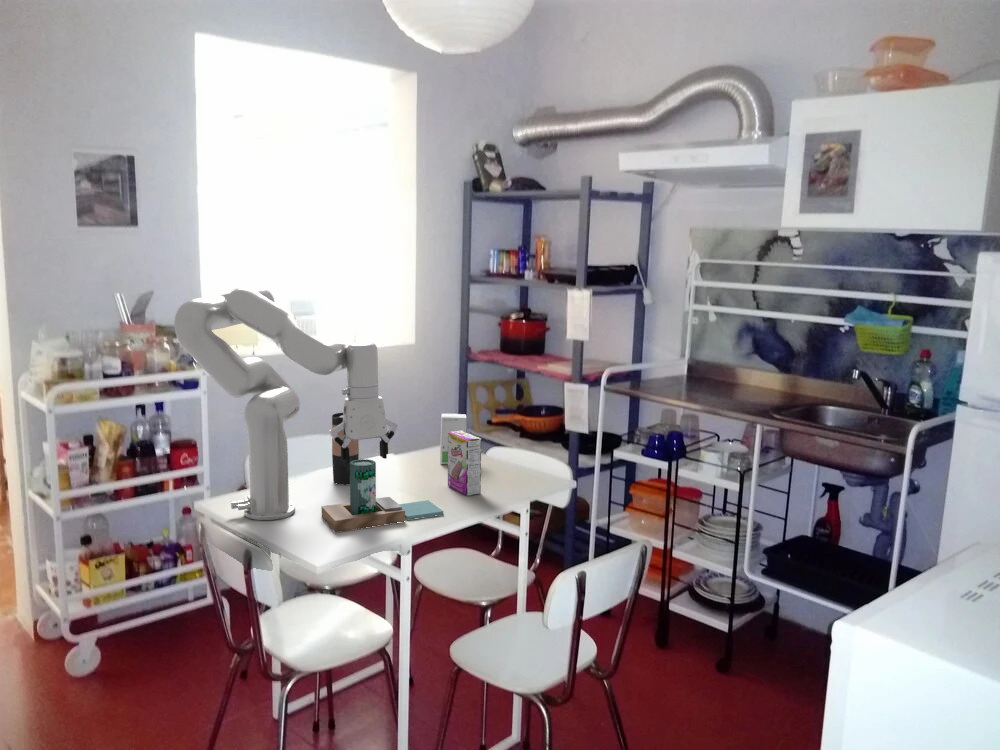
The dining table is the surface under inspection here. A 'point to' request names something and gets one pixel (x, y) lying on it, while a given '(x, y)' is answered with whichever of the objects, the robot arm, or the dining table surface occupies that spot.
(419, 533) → the dining table surface
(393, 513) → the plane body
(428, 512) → the rubber mat
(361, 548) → the dining table surface
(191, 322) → the robot arm
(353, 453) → the travel mug
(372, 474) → the can
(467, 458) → the candy bar box
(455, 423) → the skincare box
